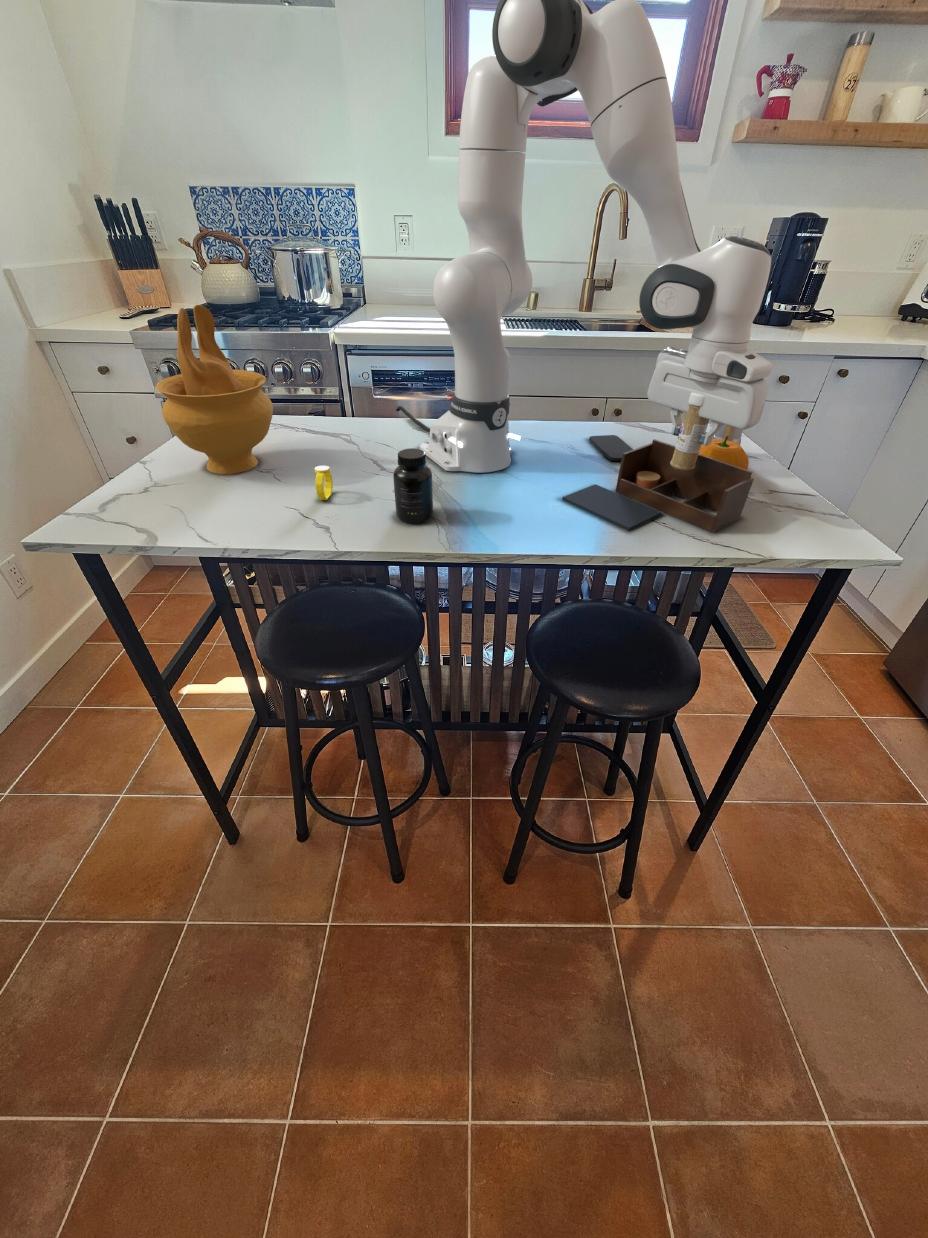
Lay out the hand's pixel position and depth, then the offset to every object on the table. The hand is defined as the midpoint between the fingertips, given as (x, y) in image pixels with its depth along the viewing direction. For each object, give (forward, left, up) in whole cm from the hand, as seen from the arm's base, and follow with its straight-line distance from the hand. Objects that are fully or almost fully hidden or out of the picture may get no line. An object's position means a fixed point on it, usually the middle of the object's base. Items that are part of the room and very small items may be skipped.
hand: (690, 439), depth 99 cm
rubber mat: (-7, -11, -13) cm, 18 cm away
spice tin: (-7, 0, -13) cm, 14 cm away
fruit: (-1, +15, -13) cm, 20 cm away
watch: (-44, -52, -13) cm, 69 cm away
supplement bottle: (-27, -43, -13) cm, 52 cm away
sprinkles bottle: (0, 0, -5) cm, 5 cm away
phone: (-26, +14, -13) cm, 32 cm away
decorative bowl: (-71, -60, -13) cm, 94 cm away
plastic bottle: (-8, +31, -13) cm, 35 cm away
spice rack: (0, 0, -13) cm, 13 cm away
